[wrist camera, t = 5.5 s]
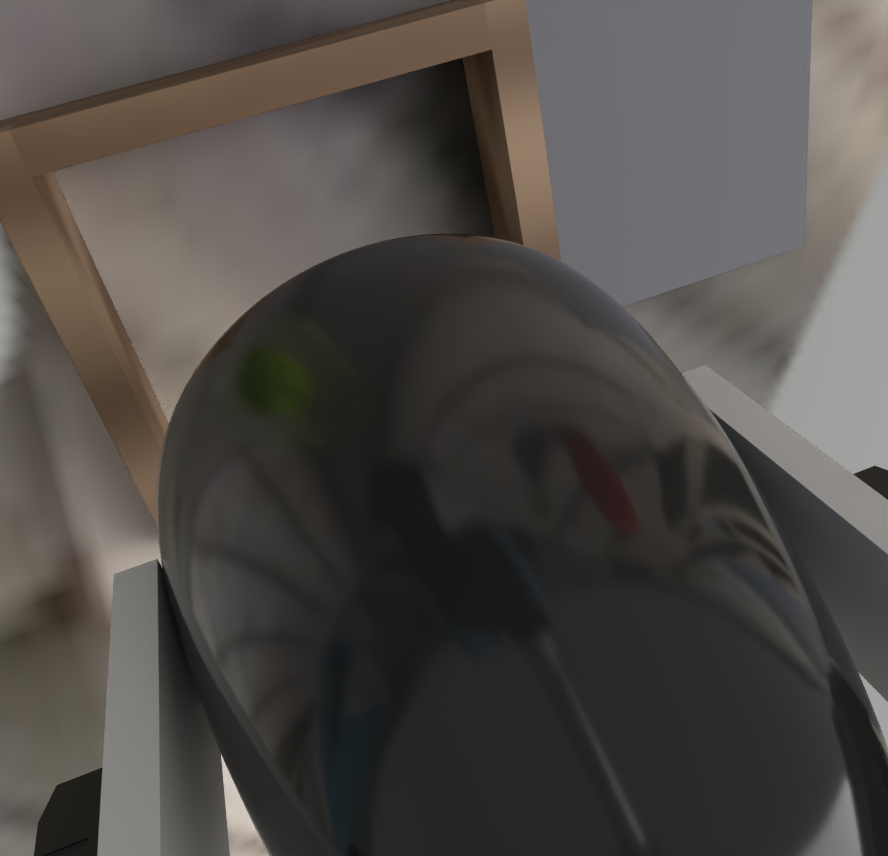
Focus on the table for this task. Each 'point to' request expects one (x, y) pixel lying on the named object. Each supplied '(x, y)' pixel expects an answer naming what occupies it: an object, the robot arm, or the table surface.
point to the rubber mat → (673, 135)
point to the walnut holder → (236, 97)
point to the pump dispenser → (497, 581)
